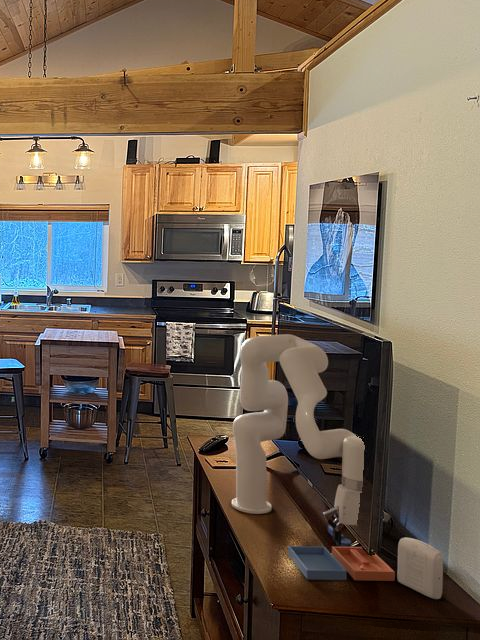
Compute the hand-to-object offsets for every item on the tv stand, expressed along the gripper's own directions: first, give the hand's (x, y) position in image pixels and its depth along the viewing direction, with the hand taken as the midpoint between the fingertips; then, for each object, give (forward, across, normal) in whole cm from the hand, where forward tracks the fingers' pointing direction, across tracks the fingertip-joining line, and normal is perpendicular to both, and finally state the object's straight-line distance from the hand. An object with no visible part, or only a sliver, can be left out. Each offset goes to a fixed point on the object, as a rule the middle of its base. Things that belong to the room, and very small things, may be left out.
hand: (355, 543), depth 179 cm
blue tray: (+5, +12, +3) cm, 13 cm away
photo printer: (+5, -9, +14) cm, 18 cm away
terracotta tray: (+5, 0, +3) cm, 6 cm away
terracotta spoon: (+5, 0, +3) cm, 6 cm away
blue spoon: (+6, -1, -14) cm, 15 cm away
